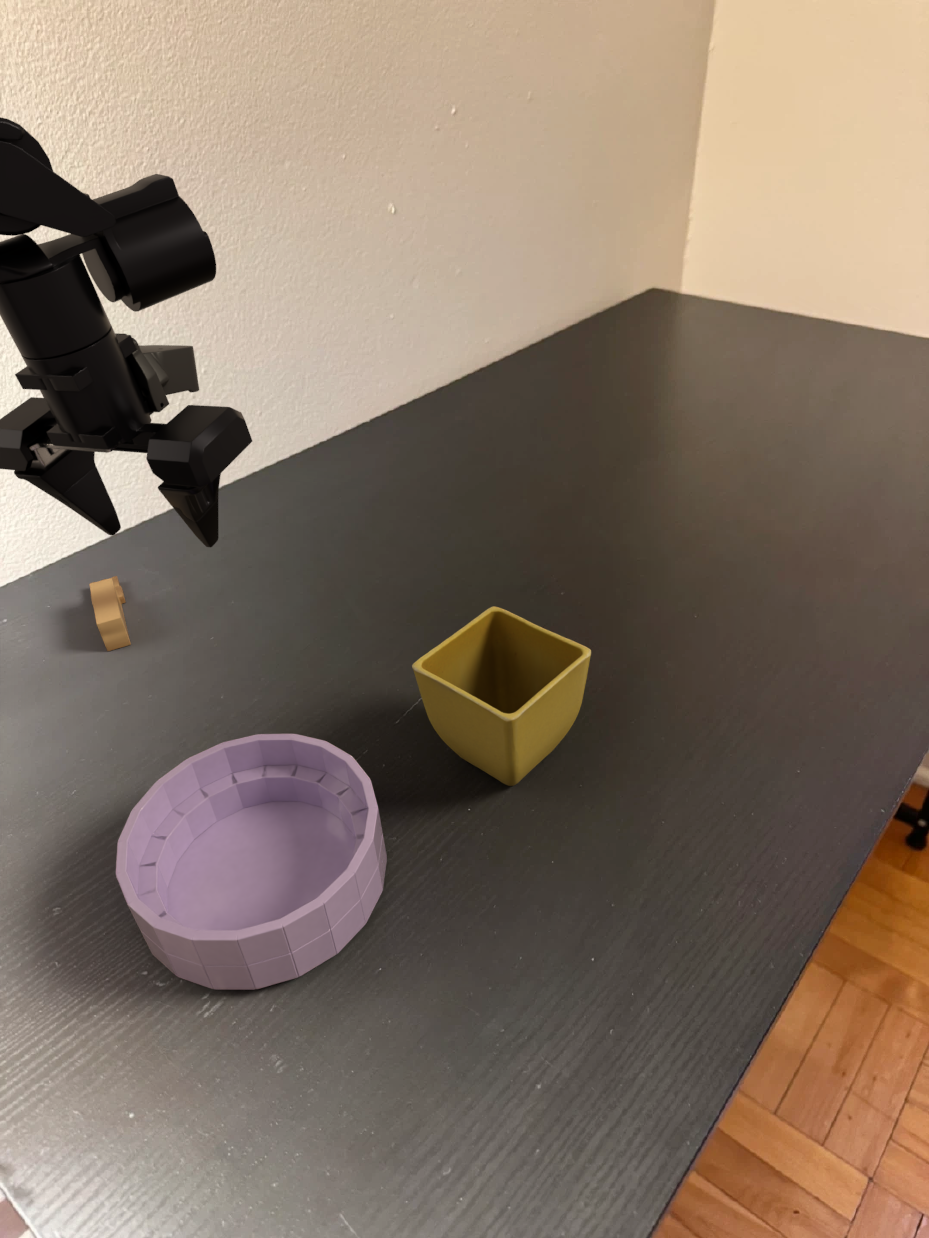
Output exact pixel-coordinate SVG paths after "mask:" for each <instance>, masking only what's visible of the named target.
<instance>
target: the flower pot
mask: <svg viewBox="0 0 929 1238" xmlns="http://www.w3.org/2000/svg"><path fill="white" fill-rule="evenodd" d="M591 656H592V650H591V649H590V648H589V647H587V646H585V645H583V644H581V643H579V642H576V641H574V640H572V639H570V638H568V637H567V638H566V637H565V636H563V635H560V634H558V633H556V632H553V631H550V630H549V629H546V628H543V627H541V626H540V625H538V624H535V623H533V622H531V621H530V620H527V619H526V618H524V617H521V616H519V615H517V614H515V613H513V612H511V611H509V610H506V609H504V608H502V607H498V606H493V605H492V606H490V607H488V608H487V609H486V610H484V611H483V612H482V613H480V614H479V615H477V616H476V617H475V618H473V619H472V620H471V621H470V622H467V623H466V625H464V626H463V627H462V628H460V629H458V630H457V631H456V632H454V633H453V634H452V635H450V636H449V637H447V638H446V639H445V640H443V641H442V642H441V643H439V644H438V645H436V646H435V647H434V648H432V649H430V650H429V651H428V652H426V653H425V654H424V655H422V656H421V657H420V658H418V659H417V660H416V661H415V662H413V663H412V664H411V667H412V671H413V673H414V678H415V680H416V683H417V687H418V690H419V694H420V697H421V700H422V703H423V706H424V709H425V712H426V715H427V718H428V720H429V722H430V724H431V726H432V728H433V729H434V731H435V732H436V734H437V735H438V737H439V738H440V739H441V740H442V741H443V742H444V743H445V745H446V746H448V747H449V749H451V750H452V751H453V752H454V753H455V754H456V755H457V756H459V758H461V759H463V760H464V761H466V762H468V763H469V764H470V765H473V766H474V767H475V768H478V769H480V770H481V771H482V772H485V773H486V774H488V775H489V776H491V777H492V778H494V779H496V780H497V781H499V782H500V783H502V784H503V785H506V786H508V787H513V786H515V785H517V784H519V783H520V782H521V780H523V779H524V778H525V777H526V776H527V775H528V774H529V773H530V772H532V770H533V769H535V768H536V766H538V765H539V764H540V763H541V762H542V761H543V760H544V759H545V758H546V757H547V756H549V755H550V754H551V753H552V752H553V751H554V750H555V748H556V747H558V745H559V744H560V743H561V741H562V740H563V739H564V738H565V736H566V735H567V734H568V733H569V731H570V730H571V728H572V727H573V725H574V723H575V721H576V719H577V717H578V715H579V713H580V710H581V707H582V704H583V699H584V693H585V689H586V684H587V678H588V673H589V668H590V662H591V661H590V660H591Z"/></svg>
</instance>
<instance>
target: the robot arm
mask: <svg viewBox="0 0 929 1238" xmlns="http://www.w3.org/2000/svg"><path fill="white" fill-rule="evenodd" d="M41 226H42V227H46V228H49V229H53V230H57V231H60V232H63V233H66V234H67V235H64V236H61V237H58V238H54V239H52V240H49V241H45V242H42V243H37V242H36V241H35V240H34V239H33V238H32V237H31V236H29V235H28V234H29V233H31V232H33V231H35V230H37V229H38V228H40V227H41ZM0 236H12V237H10V238H7V239H4V240H1V241H0V318H1V320H2V322H3V324H4V326H5V328H6V329H7V331H8V333H9V335H10V337H11V339H12V340H13V343H14V344H15V346H16V348H17V350H18V352H19V354H20V356H21V358H22V359H23V362H24V363H25V365H26V367H23V368H22V369H21V370H19V371H18V372H16V373H15V374H14V375H15V377H16V379H17V381H18V383H19V385H20V387H21V388H22V390H34V391H38V390H39V392H40V393H41V395H42V397H34V396H33V397H32V396H31V397H29V398H28V399H26V400H25V401H23V402H22V403H20V404H19V405H18V406H16V407H15V408H14V409H12V410H11V411H9V412H7V414H5V415H3V416H2V417H1V418H0V470H8V471H13V474H14V475H15V477H17V479H19V480H24V481H26V482H28V483H30V484H31V485H33V486H34V487H36V488H37V489H40V490H41V491H42V492H44V493H46V494H47V495H49V496H50V497H52V498H54V500H57V501H58V502H60V503H61V504H63V505H65V506H66V507H67V508H69V509H71V510H72V511H73V512H75V513H76V514H78V515H79V516H81V517H82V518H83V519H85V520H86V521H88V522H89V523H91V524H92V525H93V526H95V527H97V528H98V529H99V530H101V531H102V532H104V533H105V534H106V535H108V536H115V535H116V534H117V533H118V532H119V531H121V529H122V526H121V522H120V519H119V516H118V513H117V510H116V508H115V506H114V503H113V501H112V498H111V497H110V494H109V492H108V490H107V488H106V485H105V483H104V481H103V479H102V476H101V474H100V472H99V470H98V467H97V466H96V462H95V453H106V454H107V453H112V452H113V451H114V452H125V453H138V454H139V453H141V454H146V461H147V464H148V466H149V468H150V470H151V472H152V474H153V475H154V476H156V477H157V478H158V479H160V480H161V481H162V482H161V483H160V484H159V485H158V486H157V490H158V491H159V492H160V494H161V495H162V496H163V497H164V498H165V500H166V501H167V503H168V504H169V505H170V506H171V507H172V508H173V509H174V511H175V512H176V514H178V516H179V517H180V519H182V521H183V522H184V524H186V526H187V527H188V528H189V529H190V531H191V532H192V533H193V534H194V536H195V537H196V538H197V539H198V540H199V541H200V542H201V543H202V544H203V545H204V546H205V547H206V548H213V546H214V545H215V544H216V543H217V542H218V541H219V493H220V491H219V490H220V481H221V475H222V473H223V471H225V470H226V469H227V468H228V467H229V466H230V465H231V464H232V463H233V462H234V461H235V460H236V459H237V458H238V456H240V455H241V454H242V452H244V451H245V449H246V448H247V447H248V446H250V445H251V444H252V442H253V438H252V436H251V433H250V430H249V427H248V424H247V422H246V420H245V417H244V415H243V413H242V412H241V411H240V410H237V409H235V408H232V407H230V406H222V405H221V406H219V405H201V404H200V405H198V404H197V405H196V404H188V405H186V406H185V407H184V408H183V409H182V410H180V412H178V413H177V414H176V415H175V416H174V417H172V418H171V419H170V420H169V421H168V422H167V423H163V422H162V423H161V422H152V418H151V415H153V414H154V413H161V412H162V411H163V410H165V408H166V407H168V406H170V402H169V399H168V397H167V396H171V395H175V394H179V393H184V392H189V393H196V392H200V384H199V377H198V371H197V370H198V369H197V365H196V358H195V356H196V355H195V350H194V346H193V345H178V344H177V345H176V344H174V345H170V344H159V345H158V344H148V345H147V344H146V345H141V344H139V342H138V341H137V340H136V339H135V338H134V337H132V335H131V334H127V333H116V332H115V330H114V328H113V326H112V323H111V322H110V319H109V317H108V315H107V312H106V310H105V308H104V306H103V303H102V301H101V298H100V296H99V295H98V294H99V293H98V292H97V290H96V287H97V289H98V290H99V291H100V293H101V294H102V295H103V297H104V298H106V300H107V301H109V302H110V303H112V304H113V303H117V302H118V301H121V302H122V303H123V304H124V305H125V306H126V307H127V308H128V309H129V310H131V311H132V312H134V313H135V312H141V311H143V310H145V309H148V308H150V307H152V306H154V305H155V306H156V305H157V304H160V303H162V302H165V301H167V300H170V299H172V298H174V297H177V296H179V295H182V294H184V293H186V292H188V291H191V290H193V289H195V288H198V287H201V286H203V285H205V284H208V283H210V282H213V281H214V280H215V278H216V275H217V261H216V255H215V251H214V247H213V245H212V242H211V239H210V236H209V234H208V232H206V231H205V230H203V228H202V226H201V224H200V222H199V220H198V219H197V217H196V215H195V213H194V212H193V211H192V209H191V208H190V206H189V204H188V203H187V202H186V201H185V200H184V199H183V198H182V197H181V196H180V194H179V192H178V189H177V186H176V183H175V181H174V179H173V177H171V176H169V175H164V174H159V173H154V174H152V175H149V176H146V177H145V176H144V177H143V178H140V179H138V180H137V181H136V182H135V183H133V184H132V185H129V186H128V187H125V188H122V189H119V190H116V191H114V192H110V193H108V194H104V195H101V196H98V197H96V198H91V196H90V194H88V193H86V192H83V191H81V190H79V188H77V187H76V186H74V185H73V184H72V183H70V182H69V181H67V180H66V179H64V178H63V177H62V176H61V175H59V174H58V173H56V172H55V171H54V169H53V165H52V163H51V160H50V157H49V156H48V154H47V152H45V149H44V148H43V147H42V145H41V143H40V142H39V141H38V140H37V139H36V138H35V137H34V136H33V135H32V134H30V133H29V132H28V131H27V130H26V129H25V127H23V126H22V125H21V124H20V123H17V122H15V121H13V120H11V119H9V118H6V117H0ZM81 256H82V257H83V259H82V257H81ZM83 260H84V261H83ZM89 274H90V275H89ZM91 278H92V279H91ZM92 280H93V281H92ZM93 282H94V283H93ZM94 284H95V286H96V287H95V286H94Z"/></svg>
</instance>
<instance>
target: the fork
mask: <svg viewBox="0 0 929 1238" xmlns="http://www.w3.org/2000/svg"><path fill="white" fill-rule="evenodd" d="M88 586H89V590H90V591H89V592H90V600H91V605H92V607H93V612H94V617H95V622H96V623H95V624H96V627H97V628H98V631H99V634H100V636H101V639H102V642H103V644H104V646H105V649H106V651H107V652H111V651H114V650H119V649H122V648H124V647H128V646H131V645H132V643H131V639H130V638H131V637H130V634H129V630H128V626H127V622H126V617H125V613H124V608H123V604H126V598H125V594H124V591H123V587H122V585H121V583H120V580H119V578H118V576H117V575H114V576H112V577H110V578H104V579H101V580H98V581H91V582H90V583H89V585H88Z"/></svg>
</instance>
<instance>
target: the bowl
mask: <svg viewBox="0 0 929 1238" xmlns="http://www.w3.org/2000/svg"><path fill="white" fill-rule="evenodd" d="M382 827H383V826H382V822H381V816H380V810H379V805H378V801H377V797H376V794H375V791H374V785H373V782H372V780H371V778H370V777H369V775H368V774H367V773H366V772H365V770H364V769H363V768H362V767H361V765H360V764H359V763H358V761H357V760H356V759H355V757H353V756H352V755H351V754H349V753H347V752H346V751H344V750H343V749H341V748H339V747H337V746H335V745H334V744H332V743H330V742H328V741H326V740H324V739H320V738H315V737H310V736H306V735H302V734H298V733H257V734H252V735H247V736H244V737H239V738H235V739H230V740H226V741H223V742H220V743H218V744H216V745H214V746H211V747H210V748H207V749H205V750H203V751H200V752H198V753H196V754H194V755H192V756H190V757H187V758H186V759H184V760H183V761H181V762H180V763H179V764H177V765H176V766H175V767H173V768H172V769H171V770H169V771H168V772H167V773H165V774H164V775H163V776H161V777H160V778H159V779H157V780H156V781H155V782H154V783H153V784H152V785H151V786H150V787H149V789H148V790H147V792H145V794H144V795H143V796H142V797H141V798H140V800H138V802H137V803H136V804H135V805H134V807H133V808H132V809H131V811H130V813H129V815H128V817H127V819H126V821H125V824H124V826H123V827H122V831H121V833H120V835H119V837H118V840H117V844H116V858H115V861H116V862H115V878H116V880H117V882H118V883H117V884H118V885H119V887H120V890H121V892H122V895H123V897H124V900H125V902H126V905H127V907H128V909H129V911H130V914H131V915H132V917H133V919H134V921H135V923H136V925H137V928H138V929H139V930H140V933H141V935H142V937H143V939H144V941H145V943H146V945H147V947H148V949H149V951H150V953H151V955H152V956H154V958H156V959H157V960H158V961H159V962H160V963H161V964H162V965H163V966H165V968H167V969H168V970H169V971H170V972H171V973H172V974H173V975H175V977H177V978H180V979H183V980H186V981H189V982H191V983H194V984H197V985H200V986H202V987H205V988H208V989H211V990H221V991H222V990H224V991H225V990H232V991H233V990H234V991H237V990H241V991H242V990H243V991H245V990H247V991H248V990H249V991H250V990H251V991H252V990H259V989H263V988H267V987H269V986H275V985H276V984H280V983H284V982H287V981H291V980H294V979H297V978H300V977H302V976H304V975H305V974H307V973H309V972H310V971H311V970H314V969H315V968H317V967H319V966H320V965H322V964H323V963H326V961H328V960H330V959H331V958H333V957H335V956H336V955H338V954H339V953H340V952H341V951H342V950H343V949H344V948H345V947H346V945H348V943H349V942H351V941H352V939H353V938H354V937H355V936H356V935H357V934H358V933H359V932H360V931H361V930H362V929H363V928H364V927H365V926H366V924H367V922H368V921H369V919H370V917H371V915H372V913H373V911H374V909H375V907H376V905H377V904H378V901H379V899H380V898H381V895H382V893H383V891H384V885H385V878H386V870H387V864H388V863H387V861H388V856H387V851H386V850H387V849H386V845H385V838H384V833H383V828H382Z"/></svg>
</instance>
